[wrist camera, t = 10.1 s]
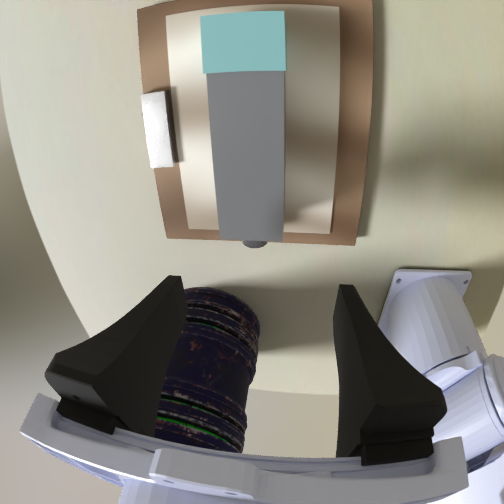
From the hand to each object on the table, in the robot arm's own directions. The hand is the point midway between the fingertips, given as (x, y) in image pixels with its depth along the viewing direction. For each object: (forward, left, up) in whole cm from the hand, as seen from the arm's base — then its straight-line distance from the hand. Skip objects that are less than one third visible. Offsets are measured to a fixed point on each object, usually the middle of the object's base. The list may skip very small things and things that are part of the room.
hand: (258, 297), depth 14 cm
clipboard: (+6, +1, -9) cm, 11 cm away
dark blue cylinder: (-13, +6, -10) cm, 17 cm away
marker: (+6, +1, -8) cm, 10 cm away
